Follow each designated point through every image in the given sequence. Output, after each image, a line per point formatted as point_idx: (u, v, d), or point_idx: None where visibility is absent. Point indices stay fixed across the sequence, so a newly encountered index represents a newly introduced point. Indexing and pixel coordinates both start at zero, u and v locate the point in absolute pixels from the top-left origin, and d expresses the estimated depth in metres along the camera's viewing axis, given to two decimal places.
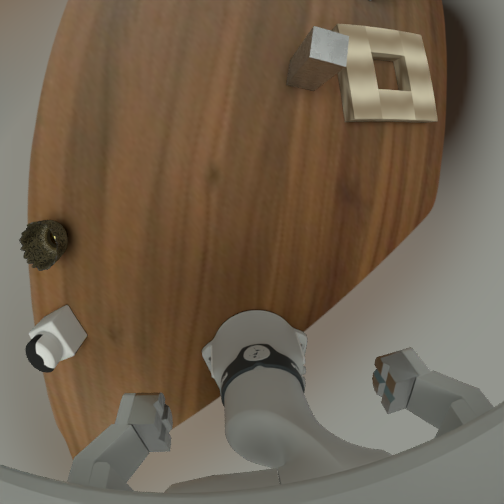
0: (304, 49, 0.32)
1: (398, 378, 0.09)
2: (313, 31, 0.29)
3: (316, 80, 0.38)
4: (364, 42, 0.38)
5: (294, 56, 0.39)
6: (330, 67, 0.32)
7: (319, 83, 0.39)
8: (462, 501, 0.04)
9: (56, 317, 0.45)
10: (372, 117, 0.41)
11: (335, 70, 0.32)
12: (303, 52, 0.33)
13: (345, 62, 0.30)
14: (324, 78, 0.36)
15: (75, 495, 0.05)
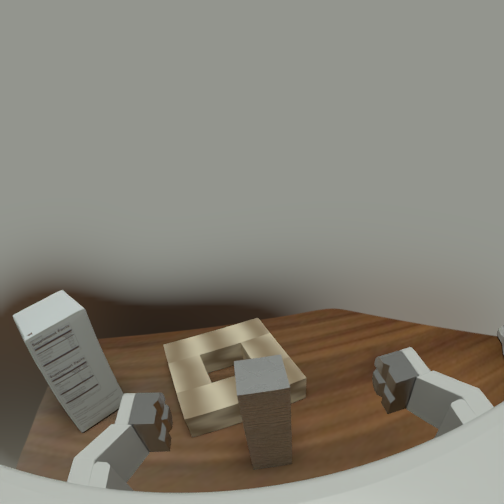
0: (264, 417, 0.25)
1: (398, 378, 0.09)
2: (245, 394, 0.24)
3: None
4: (201, 390, 0.37)
5: (255, 454, 0.28)
6: None
7: None
8: (462, 501, 0.04)
9: None
10: (293, 364, 0.40)
11: None
12: (268, 418, 0.25)
13: (275, 356, 0.28)
14: None
15: (75, 495, 0.05)
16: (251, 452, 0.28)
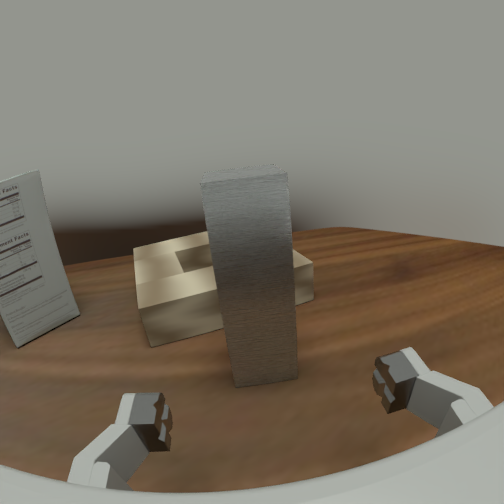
0: (247, 244, 0.17)
1: (398, 378, 0.09)
2: (215, 182, 0.16)
3: None
4: (168, 280, 0.29)
5: (237, 347, 0.19)
6: None
7: None
8: (462, 500, 0.04)
9: None
10: (295, 252, 0.32)
11: None
12: (254, 249, 0.17)
13: (264, 165, 0.20)
14: None
15: (75, 495, 0.05)
16: (229, 341, 0.19)
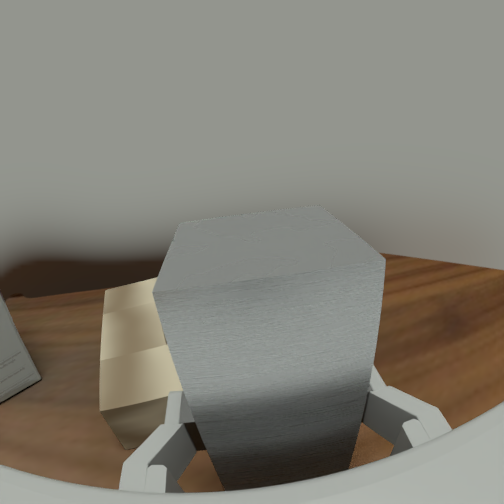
0: (274, 408, 0.07)
1: None
2: (192, 289, 0.06)
3: None
4: (144, 357, 0.19)
5: None
6: None
7: None
8: (462, 501, 0.04)
9: None
10: None
11: None
12: (288, 414, 0.07)
13: (303, 208, 0.10)
14: None
15: (75, 495, 0.05)
16: None
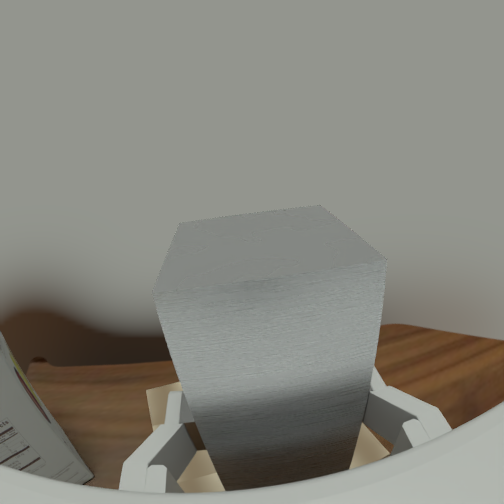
0: (275, 409, 0.07)
1: None
2: (192, 290, 0.06)
3: None
4: (208, 483, 0.18)
5: None
6: None
7: None
8: (462, 501, 0.04)
9: None
10: (365, 430, 0.21)
11: None
12: (289, 414, 0.07)
13: (303, 208, 0.10)
14: None
15: (75, 495, 0.05)
16: None
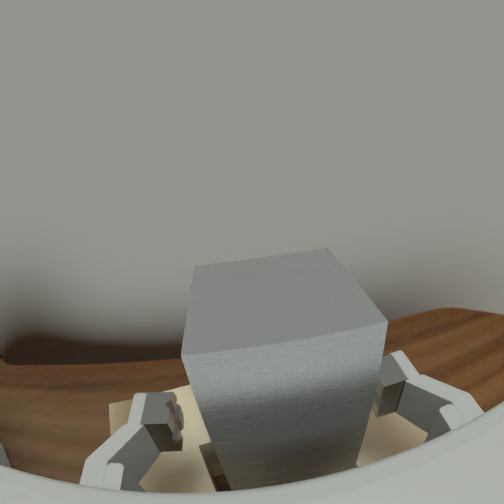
0: (285, 439, 0.07)
1: (386, 382, 0.09)
2: (217, 352, 0.06)
3: None
4: None
5: None
6: None
7: None
8: (462, 501, 0.04)
9: None
10: None
11: None
12: (297, 443, 0.08)
13: (312, 252, 0.10)
14: None
15: (75, 495, 0.05)
16: None
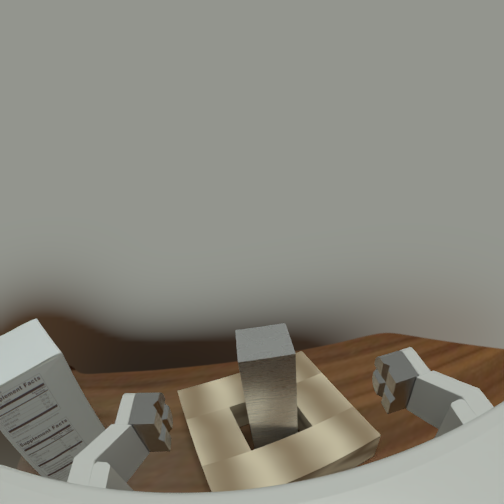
0: (267, 390, 0.24)
1: (398, 378, 0.09)
2: (247, 361, 0.23)
3: None
4: (237, 462, 0.24)
5: (258, 437, 0.26)
6: None
7: None
8: (462, 500, 0.04)
9: None
10: (361, 417, 0.26)
11: None
12: (272, 392, 0.24)
13: (279, 324, 0.27)
14: None
15: (75, 495, 0.05)
16: (253, 434, 0.26)
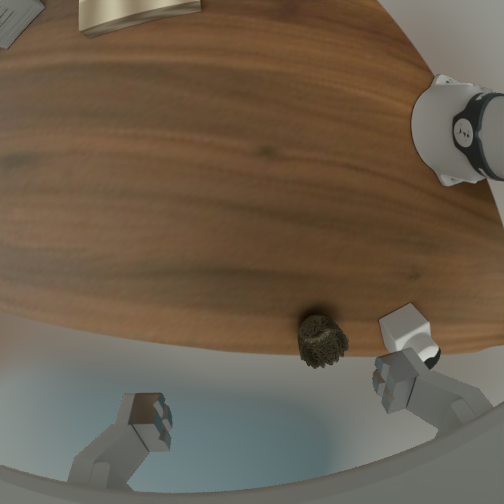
0: None
1: (398, 378, 0.09)
2: None
3: None
4: None
5: None
6: None
7: None
8: (462, 500, 0.04)
9: (391, 334, 0.48)
10: None
11: None
12: None
13: None
14: None
15: (75, 495, 0.05)
16: None
